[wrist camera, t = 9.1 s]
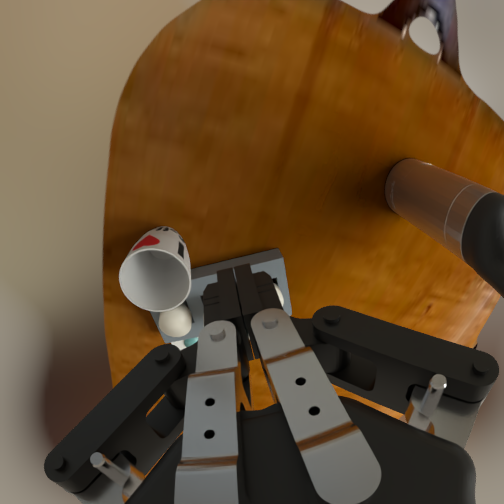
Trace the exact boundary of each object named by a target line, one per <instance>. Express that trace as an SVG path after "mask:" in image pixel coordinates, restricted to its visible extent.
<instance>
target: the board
mask: <svg viewBox="0 0 504 504" xmlns="http://www.w3.org/2000/svg"><path fill="white" fill-rule="evenodd" d="M247 263H250V267H251V270H252V273H257V272H261V271H265V272H266V273H267V274H269V275H270V276H271V278H272V279H273V278H275V283H276V285H277V286H278V287H279V289H280V291H281V293H282V296H283V299H284V304H283V309H284V311H285V312H286V313H287V314H288V315H292V310H291V304H290V297H289V291H288V284H287V278H286V272H285V266H284V260H283V256H282V254H281V252H280V250H279V248H276V249H272V250H268V251H264V252H260V253H256V254H252V255H248V256H243V257H239V258H235V259H231V260H227V261H223V262H219V263H214V264H210V265H206V266H202V267H198V268H194V269H191V290H190V293H189V295H188V297H187V298H186V302H187V304H188V307H189V309H190V312H191V315H192V323H191V330H190V331H189V332H188V333H187V334H186V335H184V336H181V337H171V336H168V335H166V334H165V333H163V332H162V331H161V329H160V328H159V317H160V312H153V311H150V312H151V315H152V317H153V319H154V321H155V323H156V325H157V327H158V329H159V331H160V333H161V335H162V337H163V339H164V341H165V343H170V342H175V341H180V340H185V339H190V338H195V337H199V333H200V331H201V330H202V329H203V327H204V321H203V314H204V306H203V301H204V300H203V291H204V290H205V288H206V286H207V284H211V283H215V282H217V271H218V270H222V269H227V268H231V267H232V268H233V271H234V267H235V266H239V265H243V264H247ZM234 275H235V271H234ZM235 279H236V277H235Z"/></svg>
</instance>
